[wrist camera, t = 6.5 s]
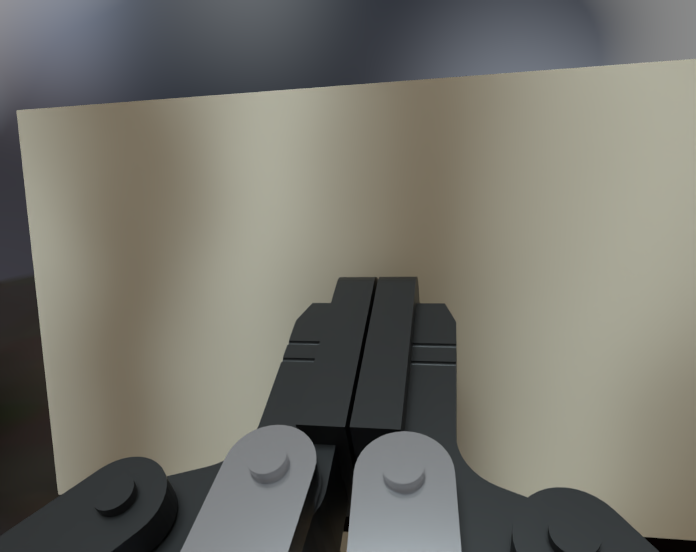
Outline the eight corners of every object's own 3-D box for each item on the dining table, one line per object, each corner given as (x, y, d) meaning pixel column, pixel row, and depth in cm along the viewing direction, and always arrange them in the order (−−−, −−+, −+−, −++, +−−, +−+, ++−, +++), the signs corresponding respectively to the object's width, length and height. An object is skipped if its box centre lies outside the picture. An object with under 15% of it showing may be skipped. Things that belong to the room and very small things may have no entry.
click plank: (99, 463, 15) (58, 494, 13) (66, 120, 14) (16, 110, 12) (766, 503, 12) (814, 549, 10) (796, 69, 11) (854, 47, 9)
